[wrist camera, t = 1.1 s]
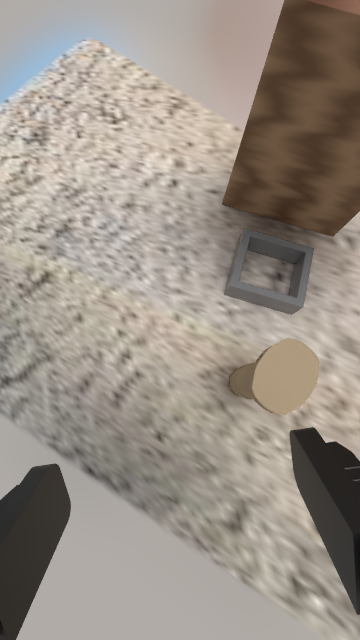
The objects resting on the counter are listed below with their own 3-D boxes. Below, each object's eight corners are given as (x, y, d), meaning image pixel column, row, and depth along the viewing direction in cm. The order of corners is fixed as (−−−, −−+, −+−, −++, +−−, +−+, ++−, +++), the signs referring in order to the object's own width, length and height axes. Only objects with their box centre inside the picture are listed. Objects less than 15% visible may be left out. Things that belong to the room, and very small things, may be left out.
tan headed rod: (210, 390, 38) (240, 387, 23) (239, 353, 39) (283, 327, 25) (240, 415, 37) (289, 426, 23) (267, 375, 39) (330, 363, 24)
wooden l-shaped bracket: (202, 271, 42) (305, -59, 12) (224, 196, 46) (348, -208, 15) (321, 306, 42) (751, 61, 11) (334, 227, 45) (687, -121, 15)
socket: (224, 294, 41) (229, 285, 38) (238, 241, 44) (244, 228, 40) (291, 314, 41) (303, 307, 38) (302, 259, 43) (314, 248, 40)
